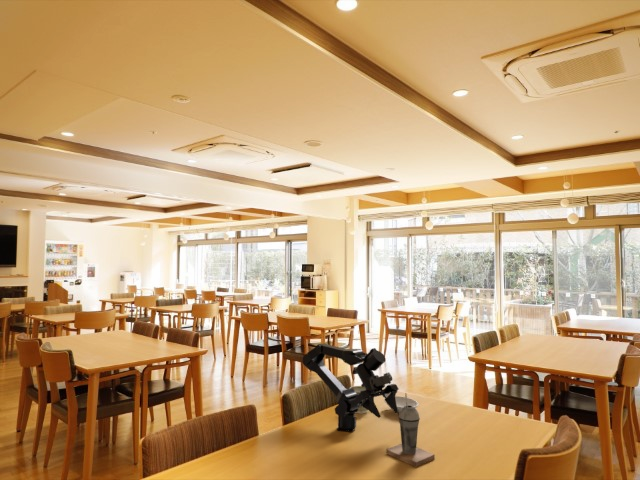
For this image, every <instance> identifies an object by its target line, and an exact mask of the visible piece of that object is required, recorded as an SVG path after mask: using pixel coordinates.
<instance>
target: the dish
mask: <svg viewBox="0 0 640 480" xmlns="http://www.w3.org/2000/svg"><path fill="white" fill-rule="evenodd" d="M395 399H396V405H397V409H398V412H397V413H398V414H399V413H400V410H401V409H402V408H403V407H404V406H406V398H405V396H403V395H402V396H401V395H395ZM383 401H384V403H385V404H386V405H387V406H388V407H389V409H391V410H392V408H391V407H390V406H389V405H388V403H387V402H386V401H385V400H384V399H383ZM407 403H408V405H409V406H413V407H414V408H415V409H416V408H417V407H419V404H420V403H419V402H418V401H417V400H415V399H413V398H411V397H408V396H407Z"/></svg>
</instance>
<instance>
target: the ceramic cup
mask: <svg viewBox="0 0 640 480" xmlns="http://www.w3.org/2000/svg"><path fill="white" fill-rule="evenodd" d="M349 388H352V389H354V391H355V392H356V393H357V394H359V393H360V392H361V391H364V390H366V389H365V387H362V386H361V385H354V386H350V387H349ZM368 411H369V410H367V409H366V408H364V407H361V406H360V407H359V408H358V412H355V414H360V415H361V414H366V413H368Z"/></svg>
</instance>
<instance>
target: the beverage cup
mask: <svg viewBox="0 0 640 480" xmlns="http://www.w3.org/2000/svg"><path fill="white" fill-rule="evenodd" d="M404 395H405V396H404V397H405V398H406V406H404V407H403V408H402V409H401V410H400V413H399V412H398V422H399V427H400V428H399V429H400V441H401V442H400V443H401V444H402V451H403V453H405V454H408V455H413V454H415V453H416V447H417V446H418V445H417V444H418V434H419V433H418V428H419V424H420V419H421V418H420V415H419V412H418V410H417V409H416V408H414V407H413V406H409V405H408V403H407V397H408V395H407V392H405V393H404Z"/></svg>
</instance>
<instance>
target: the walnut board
mask: <svg viewBox="0 0 640 480" xmlns="http://www.w3.org/2000/svg"><path fill="white" fill-rule="evenodd" d="M385 451H386V455H389V456H390V457H393V458H395V459H397V460H399V461H402V462H404V463H406V464H408V465H411V466H413V467H415V468H417V467H420V466H422V465H424V464H426V463H429V462H430V461H433V460H435V458H436V457H435V456H436V455H435V454H434V453H432V452H430V451H427V450H425V449H422V448H419V447H417V446H416V453H415V454H413V455H408V454H405V453H403V451H402V443H399V444H397V445H394V446H392V447H388V448H386V449H385Z"/></svg>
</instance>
